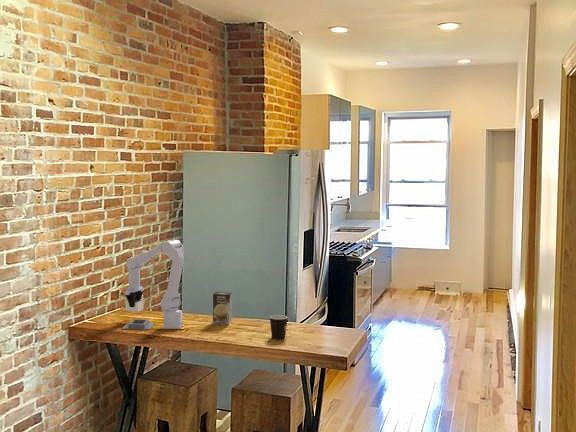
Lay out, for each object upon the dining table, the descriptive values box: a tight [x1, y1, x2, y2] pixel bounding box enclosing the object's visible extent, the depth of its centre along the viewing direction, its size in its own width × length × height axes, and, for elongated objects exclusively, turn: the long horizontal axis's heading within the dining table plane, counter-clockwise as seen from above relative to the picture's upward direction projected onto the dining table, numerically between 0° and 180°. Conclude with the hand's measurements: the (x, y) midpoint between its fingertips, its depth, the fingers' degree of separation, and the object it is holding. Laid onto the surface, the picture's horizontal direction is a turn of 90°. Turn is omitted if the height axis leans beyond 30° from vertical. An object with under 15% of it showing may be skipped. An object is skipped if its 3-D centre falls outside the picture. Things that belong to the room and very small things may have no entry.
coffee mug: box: [269, 314, 288, 340], centre depth 314 cm, size 12×9×10 cm
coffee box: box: [211, 291, 233, 326], centre depth 341 cm, size 9×6×16 cm
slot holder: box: [121, 318, 156, 331], centre depth 332 cm, size 14×13×2 cm
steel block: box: [125, 299, 143, 313], centre depth 341 cm, size 7×4×5 cm, turn 73°
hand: (134, 306), depth 340 cm, fingers closed on steel block, 4 cm apart
